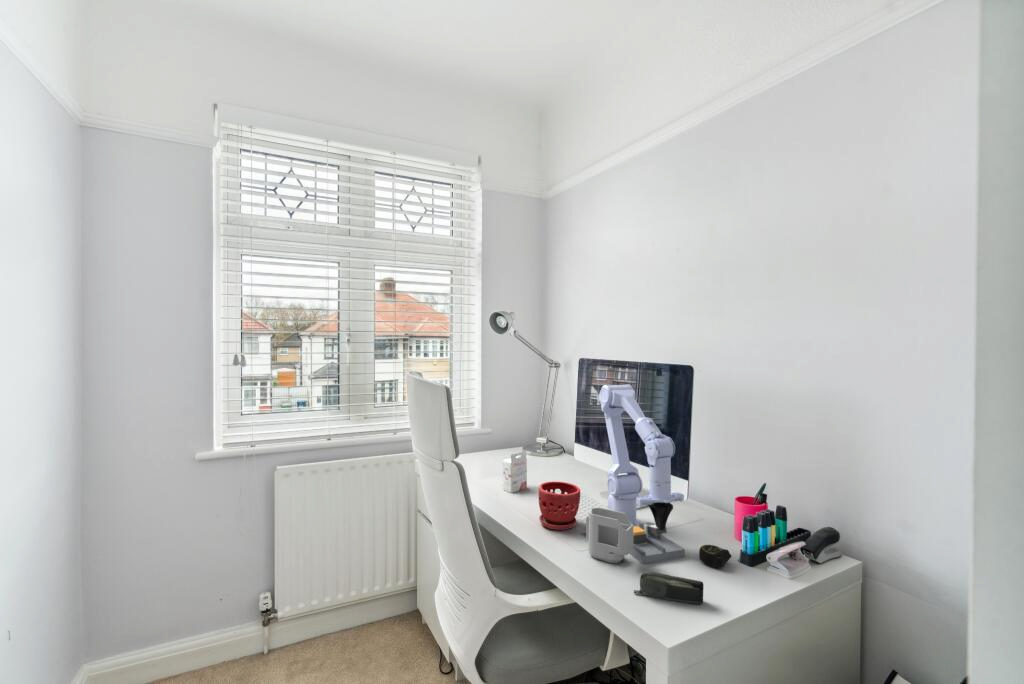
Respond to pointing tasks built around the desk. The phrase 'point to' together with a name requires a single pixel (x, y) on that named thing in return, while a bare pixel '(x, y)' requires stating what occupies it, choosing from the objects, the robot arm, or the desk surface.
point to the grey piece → (609, 534)
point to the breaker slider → (638, 535)
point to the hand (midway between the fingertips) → (660, 528)
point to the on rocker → (653, 528)
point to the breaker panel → (656, 548)
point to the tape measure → (713, 555)
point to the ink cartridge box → (515, 473)
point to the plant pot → (558, 505)
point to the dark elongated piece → (671, 587)
